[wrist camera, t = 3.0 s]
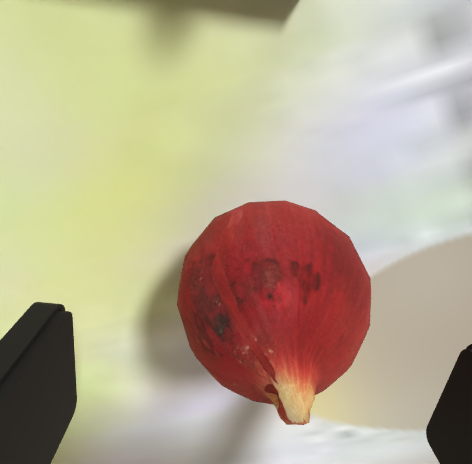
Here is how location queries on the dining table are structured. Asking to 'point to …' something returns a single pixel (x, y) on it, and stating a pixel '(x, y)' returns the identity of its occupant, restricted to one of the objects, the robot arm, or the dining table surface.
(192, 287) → the onion
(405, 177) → the dining table surface
